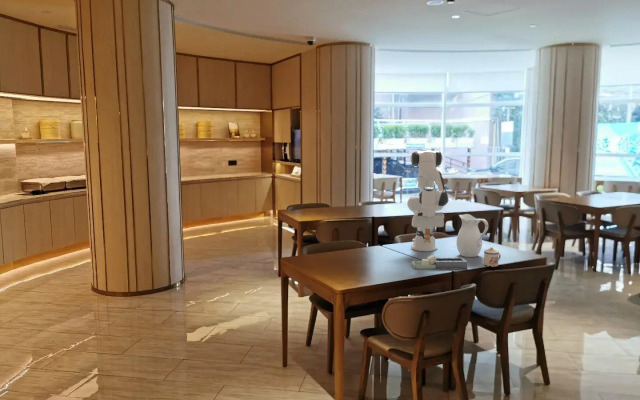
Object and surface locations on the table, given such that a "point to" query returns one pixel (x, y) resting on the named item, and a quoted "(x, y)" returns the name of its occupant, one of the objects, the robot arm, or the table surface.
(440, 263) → the grooved board
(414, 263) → the tray
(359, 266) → the table surface
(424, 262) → the cream block
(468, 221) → the pitcher
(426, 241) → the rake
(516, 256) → the table surface
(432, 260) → the cream block
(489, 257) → the teacup with lid
